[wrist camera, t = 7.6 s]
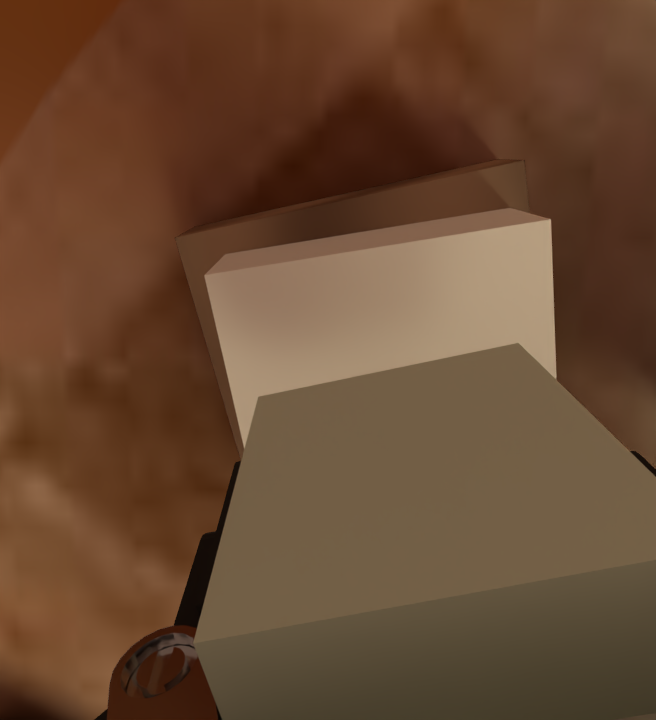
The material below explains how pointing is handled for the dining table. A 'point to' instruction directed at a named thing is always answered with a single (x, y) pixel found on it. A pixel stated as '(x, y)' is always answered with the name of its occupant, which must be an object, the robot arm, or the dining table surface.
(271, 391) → the white slab
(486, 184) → the walnut slab
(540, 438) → the green block
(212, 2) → the dining table surface
